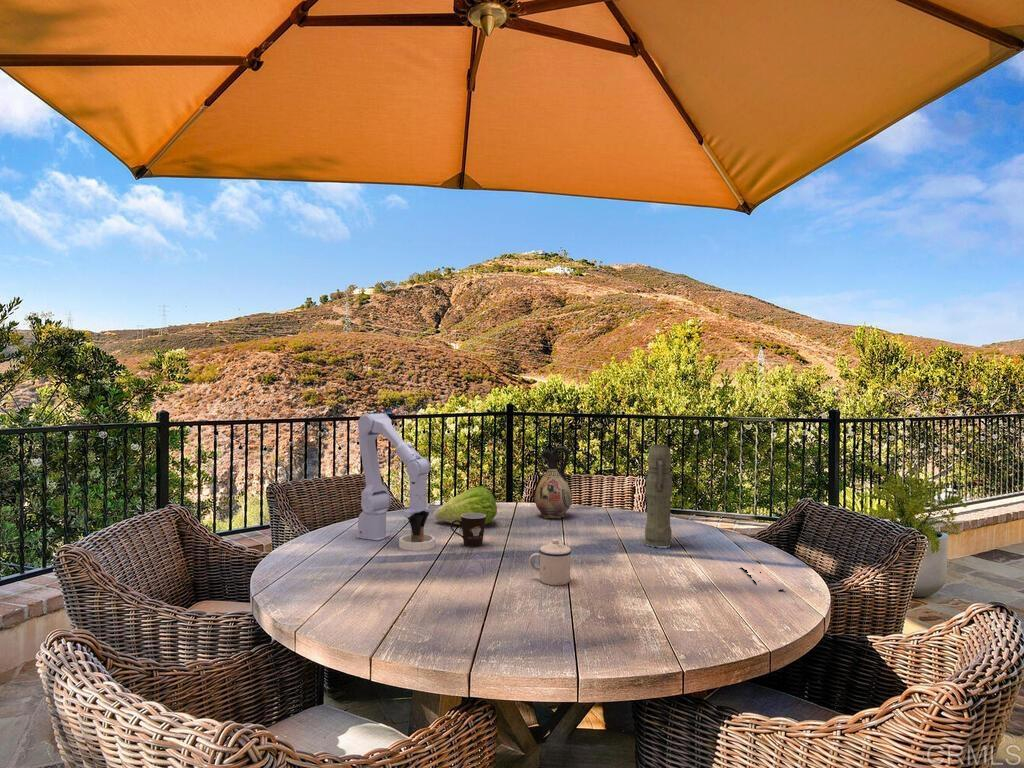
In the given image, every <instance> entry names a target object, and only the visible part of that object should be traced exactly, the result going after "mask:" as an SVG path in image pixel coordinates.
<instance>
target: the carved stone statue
mask: <svg viewBox="0 0 1024 768" xmlns="http://www.w3.org/2000/svg"><path fill="white" fill-rule="evenodd" d="M671 453H672V452H671V451H670V447H669V446H668V445H666V444H653V445H651V446H650V448H649V451H648V464H647V465H648V471H647V472H648V473H647V477H646V480H645V484H646V485H645V486H646V487H645V495H646V498H647V499H646V500H647V501H646V502H647V503H646V504H647V505H646V524H645V528H644V537H645V542H646V544H648V545H652V546H669V545H670V544H671V543H672V542H671V541H672V534H673V533H672V532H673V531H672V528H671V498H672V496H673V479H672V476H671V473H672V472H671V467H672V465H671V464H672V462H671V461H672V454H671ZM646 544H645V545H646Z"/></svg>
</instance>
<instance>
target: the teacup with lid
mask: <svg viewBox="0 0 1024 768" xmlns="http://www.w3.org/2000/svg"><path fill="white" fill-rule="evenodd" d="M538 551H539V553H538V552H535V553H532V554H531V555H530V557H529V558H528V564H529V566H530V568H531V569H532V570H533V571H536V572H539V580H540V582H542V583H543V584H545V585H549V586H563V585H566V584H569V582H570V581H571V555H572V554H571V553H572V550H571V548H570V547H569V546H567V545H565V544H563V543H561V542H560V540H559V539H558V538H553V539H552V540H551V542H548V543H547V544H544V545H541V546H540V547H539V550H538ZM534 557H539V567H536V566H535V565H534V564H533V561H532V559H533V558H534Z"/></svg>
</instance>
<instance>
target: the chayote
mask: <svg viewBox="0 0 1024 768" xmlns="http://www.w3.org/2000/svg"><path fill="white" fill-rule="evenodd" d="M466 513H481V514H485V515H486V520H485V525H487V524H490V523H491V522H492V521H493V520H494V518H495V517H496V515H497V513H498V507H497V503H496V498H495V497H494V494H493V493H492V492H491V491H490V489H488V488H486V487H484V486H482V485H480V486H474V487H472V488H469V489H466V490H464V491H463V492H461V493H459V494H458V495H456V496H454V497H451V498H449V499H448V500H447V501H446V502H445V503H444V504H442V505H441V506H440V507H439V506H438V508H436V509H435V510H434V517H435V519H436V520H437V521H438V522H440V521H441V522H446V523H449V524H451V523H452V522H453V521H455V520H459V521H461V515H462V514H466ZM453 525H457V526H461V524H460V523H459V522H455V523H453Z"/></svg>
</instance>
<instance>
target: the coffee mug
mask: <svg viewBox="0 0 1024 768" xmlns="http://www.w3.org/2000/svg"><path fill="white" fill-rule="evenodd" d="M485 520H486V515H485V514H481V513H466V514H462V515H461V521H459V520H455V521H453V522H452V523H450V529H451V531H452V532H453V533H454V534H456V535H458V537H459V536H460V537H461V538H462V540H463V542H462V543H463V546H464V547H467V548H479V547H482V546H483V542H484V535H485V526H486V524H485ZM455 522H459V523H460V524H461V525H460V526H461V529H462V530H461V531H462V534H460V533H459V532H457V531H456V530H454V528H453V525H454V524H453V523H455Z"/></svg>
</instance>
